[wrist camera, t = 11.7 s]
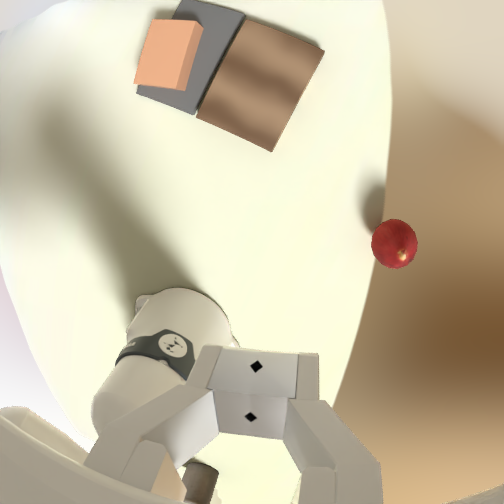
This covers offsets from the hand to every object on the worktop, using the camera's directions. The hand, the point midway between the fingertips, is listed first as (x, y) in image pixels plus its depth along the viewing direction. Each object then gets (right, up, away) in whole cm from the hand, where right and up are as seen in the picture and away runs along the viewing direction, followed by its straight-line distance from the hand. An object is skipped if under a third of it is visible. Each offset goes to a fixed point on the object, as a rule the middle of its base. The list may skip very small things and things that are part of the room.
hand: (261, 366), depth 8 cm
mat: (-8, +28, +24) cm, 38 cm away
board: (+1, +23, +24) cm, 34 cm away
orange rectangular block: (-10, +28, +23) cm, 38 cm away
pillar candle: (-15, -61, +63) cm, 88 cm away
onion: (+17, +6, +29) cm, 34 cm away
